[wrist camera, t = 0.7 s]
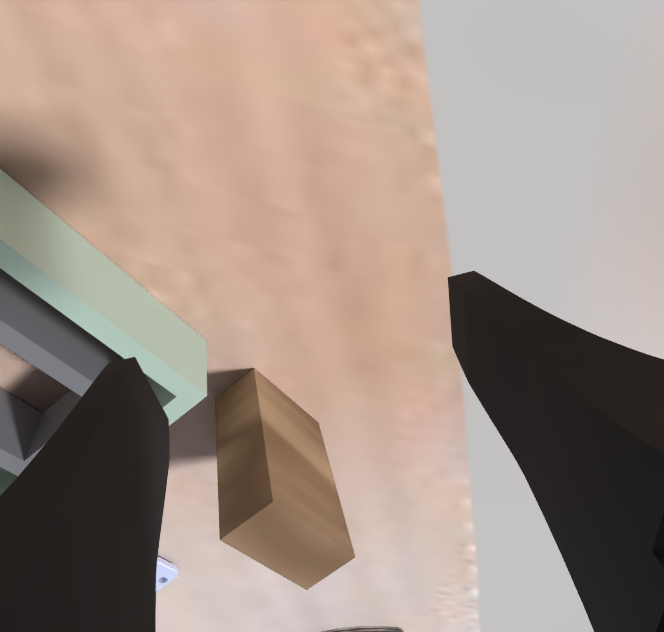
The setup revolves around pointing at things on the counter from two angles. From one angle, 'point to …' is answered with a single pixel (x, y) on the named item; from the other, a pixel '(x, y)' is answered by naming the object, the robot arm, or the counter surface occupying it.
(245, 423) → the wood grain brick
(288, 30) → the counter surface
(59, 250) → the sage green storage tray
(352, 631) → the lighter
